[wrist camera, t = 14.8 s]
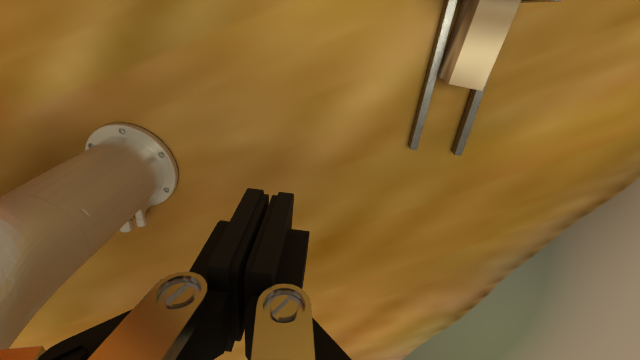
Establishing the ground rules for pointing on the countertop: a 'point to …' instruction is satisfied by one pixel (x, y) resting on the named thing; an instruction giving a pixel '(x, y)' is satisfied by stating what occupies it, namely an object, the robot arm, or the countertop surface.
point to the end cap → (526, 0)
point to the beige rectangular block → (476, 41)
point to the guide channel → (430, 81)
